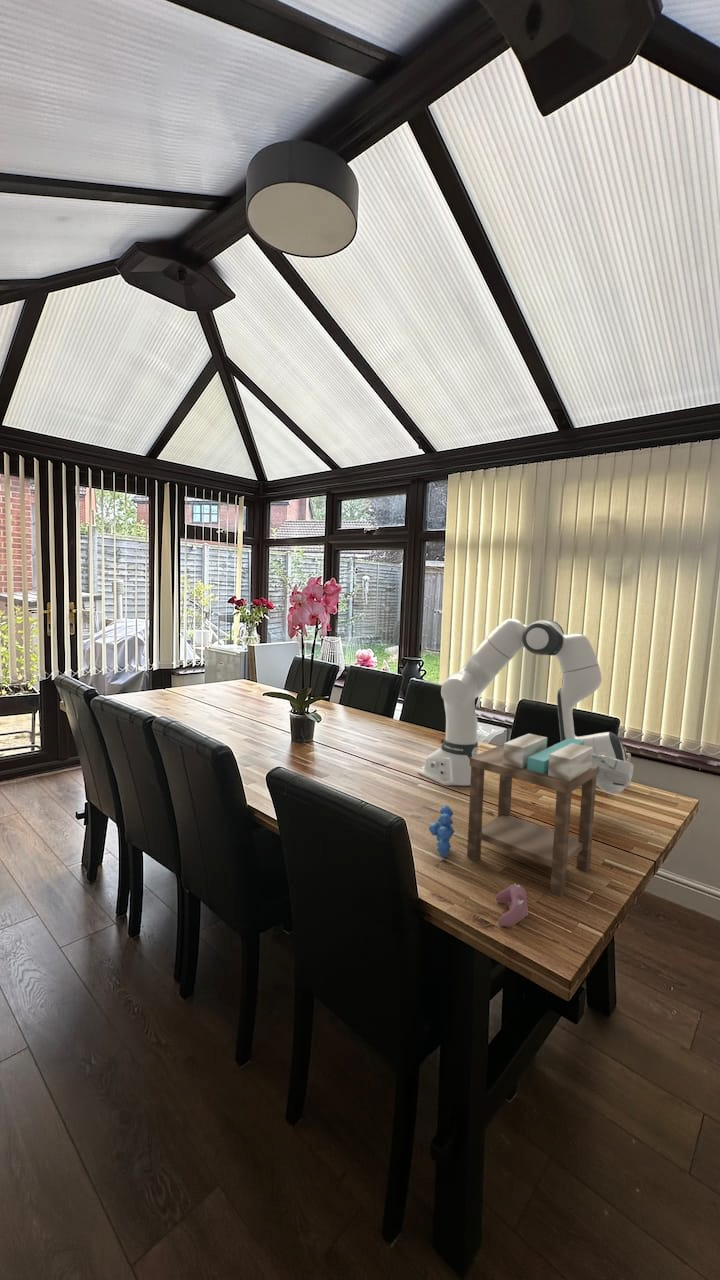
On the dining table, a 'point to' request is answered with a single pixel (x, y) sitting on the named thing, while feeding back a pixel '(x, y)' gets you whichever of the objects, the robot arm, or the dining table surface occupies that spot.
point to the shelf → (524, 837)
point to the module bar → (547, 756)
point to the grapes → (443, 830)
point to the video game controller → (513, 904)
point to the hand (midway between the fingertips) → (586, 754)
